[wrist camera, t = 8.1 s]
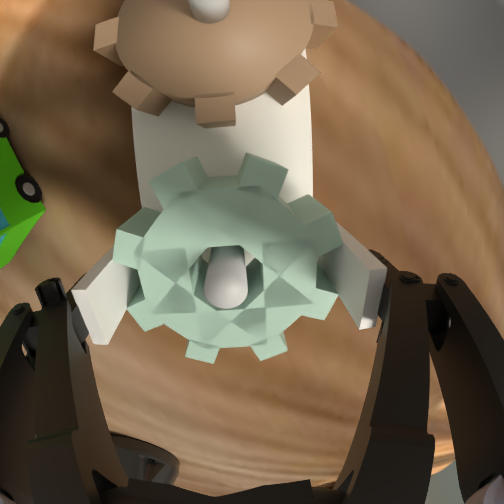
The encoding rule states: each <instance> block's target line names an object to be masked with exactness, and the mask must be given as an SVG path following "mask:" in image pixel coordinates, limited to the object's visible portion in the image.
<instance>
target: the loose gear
mask: <svg viewBox="0 0 504 504" xmlns="http://www.w3.org/2000/svg"><path fill="white" fill-rule="evenodd" d="M288 170H289V169H287V168H285V167H283V166H281V165H279V164H277V163H275V162H273V161H270V160H267V159H264V158H262V157H259V156H256V155H253V154H250V153H247V152H246V153H245V156H244V159H243V162H242V164H241V167H240V170H239V173H238V175H231V176H218V177H208V176H207V174H206V173H205V171H204V169H203V167H202V165H201V163H200V161H199V159H198V157H197V156H196V157H193V158H191V159H188V160H185V161H183V162H181V163H179V164H177V165H175V166H174V167H172V168H170V169H169V170H167V171H165V172H163V173H162V174H160V175H158V176H157V177H155V178H153V179H152V180H150V181H149V184H150V185H151V187H152V189H153V191H154V193H155V194H156V196H157V198H158V200H159V202H160V203H161V205H162V207H163V209H164V210H163V211H162V212H160V211H157V210H154V209H150V208H147V207H143V208H142V209H141V210H140V211H138V212H137V213H136V214H135V215H133V216H132V217H131V218H130V219H128V220H127V221H126V222H125V223H123V224H122V225H121V226H120V227H119V228H117V230H116V236H115V243H114V251H113V259H112V260H113V262H116V263H119V264H122V265H125V266H128V267H131V268H134V269H137V270H138V273H139V277H140V281H141V284H140V286H139V287H138V289H137V291H136V292H135V294H134V296H133V298H132V300H131V301H130V303H129V305H128V307H127V310H128V311H129V313H130V314H131V315H132V316H133V318H134V319H135V320H136V321H137V323H138V324H139V325H140V326H141V328H142V329H143V330H144V331H148V330H150V329H153V328H155V327H158V326H160V325H163V324H165V325H166V326H168V327H170V328H171V329H173V330H174V331H176V332H177V333H179V334H180V335H182V336H184V337H185V338H187V339H188V344H187V349H186V354H185V357H188V358H192V359H196V360H200V361H204V362H208V363H212V364H214V361H215V359H216V356H217V354H218V351H219V349H220V348H229V347H245V346H251V348H252V349H253V351H254V352H255V354H256V355H257V356H258V358H259V359H260V361H262V360H265V359H267V358H270V357H273V356H275V355H278V354H280V353H283V352H285V351H288V349H287V344H286V340H285V336H284V332H283V331H284V330H285V329H286V328H287V327H289V326H290V325H291V324H292V323H293V322H294V321H296V320H297V319H298V318H299V317H300V316H301V315H303V316H307V317H312V318H316V319H321V320H325V318H326V316H327V314H328V313H329V311H330V309H331V307H332V306H333V304H334V302H335V300H336V298H337V297H338V293H337V291H336V290H335V288H334V286H333V285H332V283H331V282H330V280H329V278H328V277H327V275H326V274H325V272H324V271H323V269H322V267H321V266H320V264H319V263H318V261H317V257H318V256H320V255H323V254H325V253H327V252H329V251H331V250H333V249H335V248H337V247H339V246H342V245H343V241H342V238H341V235H340V233H339V230H338V227H337V224H336V221H335V219H334V216H333V213H332V212H331V211H330V210H329V209H327V208H326V207H325V206H323V205H322V204H321V203H320V202H318V201H317V200H316V199H314V198H313V197H312V196H310V195H309V194H307V195H305V196H303V197H300V198H298V199H296V200H294V201H292V202H290V203H286V202H285V201H284V200H283V199H282V198H281V197H279V194H280V191H281V188H282V186H283V183H284V181H285V178H286V175H287V173H288ZM232 245H240V246H241V247H243V248H244V249H245V250H246V251H248V252H249V253H250V254H251V255H253V256H254V257H255V258H254V259H253V260H252V261H251V262H250V263H249V264H248V265H247V266H246V275H247V285H248V293H247V297H246V299H245V300H244V301H243V302H242V303H241V304H240V305H238V306H236V307H234V308H228V309H224V308H219V307H216V306H214V305H213V304H211V303H210V302H209V301H208V300H207V298H206V297H205V294H204V284H205V279H206V274H207V268H208V262H206V261H205V260H204V259H202V253H203V252H204V251H205V250H206V248H207V247H219V246H232Z"/></svg>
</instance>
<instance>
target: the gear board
mask: <svg viewBox="0 0 504 504" xmlns="http://www.w3.org/2000/svg"><path fill="white" fill-rule="evenodd" d="M337 28H338V25H337V19H336V13H335V7H334V2H331V1H325V0H125V1H124V2H123V4H122V6H121V8H120V10H119V13H118V16H117V17H116V18H113V19H110V20H107V21H104V22H101V23H99V24H96V27H95V37H94V49H93V51H95V52H97V53H99V54H100V55H102V56H104V57H106V58H107V59H109V60H111V61H113V62H114V63H116V64H118V65H119V66H125V68H126V69H127V70H128V72H127V73H126V75H125V76H124V77H123V78H122V80H121V81H120V82H119V83H118V85H117V86H116V87H115V89H114V90H113V91H112V92H113V93H114V94H116V95H117V96H118V97H120V98H121V99H122V100H124V101H125V102H126V103H128V104H129V105H130V106H132V125H133V138H134V150H135V160H136V169H137V177H138V185H139V192H140V199H141V206H142V208H143V207H147V208H150V209H154V210H157V211H160V212H162V211H163V210H164V209H163V207H162V205H161V203H160V202H159V200H158V198H157V196H156V194H155V193H154V191H153V189H152V187H151V185H150V184H149V181H150V180H152V179H153V178H155V177H157V176H158V175H160V174H162V173H163V172H165V171H167V170H169V169H170V168H172V167H174V166H175V165H177V164H179V163H181V162H183V161H185V160H188V159H191V158H193V157H196V156H197V157H198V159H199V161H200V163H201V165H202V167H203V169H204V171H205V173H206V174H207V176H208V177H218V176H231V175H238V173H239V170H240V167H241V164H242V162H243V159H244V156H245V153H246V152H247V153H250V154H253V155H256V156H259V157H262V158H264V159H267V160H270V161H273V162H275V163H277V164H279V165H281V166H283V167H285V168H287V169H289V170H288V173H287V175H286V178H285V181H284V183H283V186H282V188H281V191H280V194H279V197H281V198H282V199H283V200H284V201H285V202H286V203H290V202H292V201H294V200H296V199H298V198H300V197H303V196H305V195H307V194H309V195H310V196H312V197H313V173H312V134H311V112H310V96H309V83H310V82H311V81H312V80H313V79H314V78H315V77H316V76H318V75H319V74H320V73H321V72H320V71H319V70H318V69H317V68H316V67H315V66H314V65H313V64H311V63H310V62H309V61H308V60H307V58H306V48H309V49H317V48H318V47H319V46H320V45H321V44H322V43H323V42H324V41H325V40H326V39H327V38H328V37H329V36H330V35H331V34H332V33H333V32H334V31H335V30H336V29H337ZM254 258H255V257H254V256H253V255H251V254H250V253H249V252H248V251H246V250H245V249H244V248H243V247H241V246H240V245H232V246H219V247H207V248H206V250H205V251H204V252H203V253H202V259H204V260H205V261H206V262H208V268H207V274H206V279H205V284H204V294H205V297H206V298H207V300H208V301H209V302H210V303H211V304H213V305H214V306H216V307H219V308H224V309H228V308H234V307H236V306H238V305H240V304H241V303H242V302H243V301H244V300H245V299H246V297H247V293H248V285H247V275H246V266H247V265H248V264H249V263H250V262H251V261H252V260H253V259H254Z"/></svg>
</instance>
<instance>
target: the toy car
mask: <svg viewBox="0 0 504 504" xmlns="http://www.w3.org/2000/svg"><path fill="white" fill-rule="evenodd" d="M9 132H10V131H9V127H8V125H7V123H6V122H5V121H4V120H3V119H1V118H0V269H1V268H2V267H3V266H5V265H6V264H7V263H9V262H10V261H11V260H12V258H13V256H14V255H15V253H16V252H17V250H18V249H19V247H20V245H21V244H22V242H23V241H24V239H25V238H26V237H27V235H28V234H29V232H30V231H31V229H32V228H33V227H34V225H35V224H36V222H37V221H38V220H39V218H40V217H41V216H42V214H43V213H44V212H45V210H46V209H45V207H44V206H43V204H42V202H41V201H40V200H41V197H42V191H41V189H40V187H39V185H38V183H37V182H36V181H35V180H34V179H33V178H31V177H29V176H27V175H23V174H24V171H23V170H22V168H21V166H20V164H19V162H18V160H17V158H16V156H15V154H14V152H13V150H12V148H11V146H10V144H9V142H8V140H7V137H8V134H9ZM39 201H40V202H39Z"/></svg>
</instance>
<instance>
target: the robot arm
mask: <svg viewBox="0 0 504 504" xmlns="http://www.w3.org/2000/svg"><path fill="white" fill-rule="evenodd" d="M336 224H337V227H338V230H339V233H340V235H341V238H342V241H343V245H342V246H339V247H337V248H335V249H333V250H331V251H329V252H327V253H325V254H323V255H320V256H318V263H319V264H320V266H321V267H322V269H323V271H324V272H325V274H326V275H327V277H328V278H329V280H330V282H331V283H332V285H333V286H334V288H335V290H336V291H337V293H338V295H339V297H340V298H341V300H342V302H343V303H344V305H345V307H346V308H347V310H348V312H349V313H350V315H351V317H352V318H353V320H354V322H355V323H356V325H357V327H358V329H359V330H360V329H365V328H371V327H375V325H376V321H377V317H378V315H379V317H380V318H381V320H382V324H381V327H380V331H379V335H378V338H377V342H376V343H378V344H377V350H376V355H375V360H374V365H373V369H372V374H371V378H370V383H369V387H368V391H367V395H366V399H365V402H364V406H363V410H362V413H361V417H360V420H359V423H358V426H357V430H356V433H355V436H354V439H353V442H352V445H351V448H350V450H349V453H348V456H347V459H346V461H345V464H344V466H343V469H342V471H341V473H340V475H339V477H338V479H337V481H336V483H335V485H334V487H333V489H328V488H320V487H311V483H310V479H309V480H303V481H296V482H290V483H282V484H273V485H263V486H260V487H256V488H253V489H249V490H245V491H241V492H237V493H233V494H229V495H224V496H218V497H212V496H208V495H204V494H200V493H196V492H193V491H189V490H186V489H183V488H180V487H176V486H173V484H174V482H175V480H176V478H177V476H178V474H179V465H180V463H179V460H178V459H177V458H176V457H175V456H173V455H172V454H170V453H169V452H167V451H165V450H163V449H161V448H158V447H156V446H153V445H151V444H148V443H145V442H142V441H139V440H135V439H132V438H127V437H122V436H116V435H110V432H109V429H108V426H107V423H106V419H105V416H104V413H103V409H102V406H101V402H100V398H99V394H98V390H97V386H96V382H95V377H94V372H93V368H92V362H91V357H90V351H89V346H88V344H87V342H86V340H85V339H86V337H87V336H88V334H89V335H90V337H91V339H92V341H93V343H94V344H101V345H108V344H109V342H110V340H111V338H112V336H113V334H114V332H115V330H116V328H117V326H118V324H119V322H120V320H121V319H122V317H123V315H124V313H125V311H126V309H127V307H128V305H129V303H130V301H131V300H132V298H133V296H134V294H135V292H136V291H137V289H138V287H139V286H140V284H141V281H140V277H139V273H138V270H137V269H134V268H131V267H128V266H125V265H122V264H119V263H116V262H113V260H112V259H113V251H114V246H113V247H112V248H111V249H110V250H109V251H108V252H107V253H106V254H105V255H104V256H103V257H102V258H101V259H100V260H99V261H98V262H97V263H96V264H95V265H94V266H93V267H92V268H91V269H90V270H89V271H88V272H87V273H86V274H84V275H83V276H82V277H81V278H80V279H79V280H78V282H76V283H75V284H74V286H73V287H72V288H71V289H70V290H69V291H68V292H67V293H65V291H64V288H63V285H62V282H61V279H60V278H51V279H48V280H45V281H43V282H42V283H40V284H39V285H38V286H37V287H36V288H35V291H36V293H37V296H38V298H39V301H40V303H41V305H42V309H41V310H40V311H35V312H33V311H32V309H31V307H30V304H29V303H21V304H20V303H19V304H17V305H15V306H14V308H12V309H11V310H10V312H9V313H8V315H7V316H6V318H5V320H4V321H3V323H2V325H1V327H0V504H425V500H426V496H427V492H428V487H429V482H430V477H431V471H432V465H433V459H434V451H435V438H434V436H433V435H431V434H428V433H427V421H428V409H429V387H430V358H429V352H430V355H431V358H432V361H433V364H434V367H435V370H436V374H437V377H438V380H439V384H440V387H441V391H442V395H443V399H444V403H445V407H446V411H447V415H448V420H449V424H450V429H451V434H452V440H453V446H454V452H455V459H456V466H457V474H458V480H459V486H460V490H461V494H462V498H463V501H464V503H465V504H504V340H503V338H502V336H501V335H500V333H499V332H498V330H497V328H496V327H495V325H494V324H493V322H492V320H491V319H490V317H489V316H488V314H487V313H486V311H485V310H484V309H483V307H482V306H481V304H480V303H479V301H478V300H477V299H476V297H475V296H474V294H473V293H472V292H471V290H470V289H469V288H468V286H467V285H466V284H465V282H464V281H463V280H462V279H461V278H459V277H458V276H457V275H455V274H452V273H449V274H448V273H442V274H440V275H439V276H438V278H437V282H436V284H424V283H423V281H422V279H421V277H419V276H418V275H416V274H414V273H412V272H408V271H399V270H397V269H396V268H395V267H394V266H393V265H392V264H391V263H389V261H388V260H386V259H385V258H384V257H383V256H382V255H381V254H380V253H378V252H376V251H373V250H367V249H366V248H365V247H364V246H363V245H362V244H361V243H360V242H359V241H357V240H356V239H355V238H354V237H353V236H352V235H351V234H350V233H348V232H347V231H346V230H345V229H344V228H343V227H342V226H340V225H339V224H338V223H337V222H336ZM22 344H23V346H24V348H25V350H26V351H27V355H26V356H25V355H24V354H23V351H22Z"/></svg>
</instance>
